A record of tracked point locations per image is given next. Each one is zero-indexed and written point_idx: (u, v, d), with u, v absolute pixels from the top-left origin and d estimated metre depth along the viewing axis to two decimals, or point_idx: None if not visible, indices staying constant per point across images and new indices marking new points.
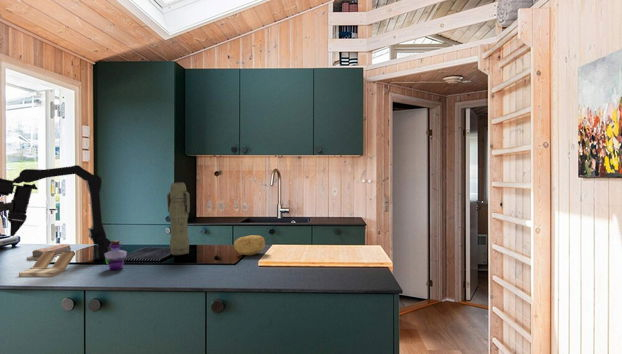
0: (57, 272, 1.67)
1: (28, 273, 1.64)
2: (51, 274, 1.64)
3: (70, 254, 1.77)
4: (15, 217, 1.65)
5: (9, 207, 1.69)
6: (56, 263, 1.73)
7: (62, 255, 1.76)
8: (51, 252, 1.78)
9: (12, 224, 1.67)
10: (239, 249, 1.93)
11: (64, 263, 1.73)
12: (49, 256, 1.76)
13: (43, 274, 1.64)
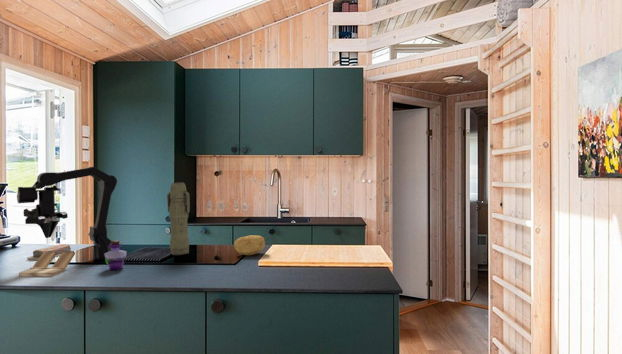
0: (57, 272, 1.67)
1: (28, 273, 1.64)
2: (51, 274, 1.64)
3: (70, 254, 1.77)
4: (30, 222, 1.68)
5: (35, 212, 1.75)
6: (56, 263, 1.73)
7: (62, 255, 1.76)
8: (51, 252, 1.78)
9: (42, 227, 1.75)
10: (239, 249, 1.93)
11: (64, 263, 1.73)
12: (49, 256, 1.76)
13: (43, 274, 1.64)
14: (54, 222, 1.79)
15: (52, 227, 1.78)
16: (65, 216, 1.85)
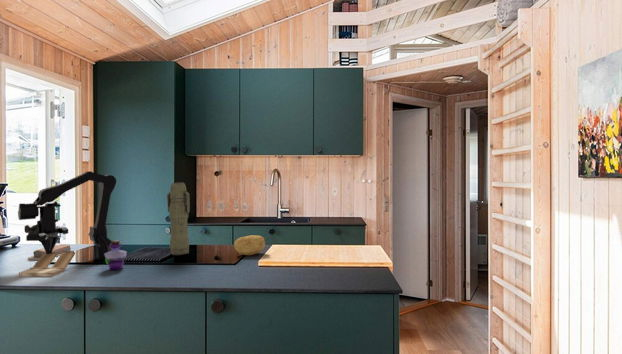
0: (57, 272, 1.67)
1: (28, 273, 1.64)
2: (51, 274, 1.64)
3: (70, 254, 1.77)
4: (31, 238, 1.69)
5: (36, 228, 1.75)
6: (56, 263, 1.73)
7: (62, 255, 1.76)
8: (52, 253, 1.79)
9: (43, 243, 1.76)
10: (239, 249, 1.93)
11: (64, 263, 1.73)
12: (49, 257, 1.77)
13: (43, 274, 1.64)
14: (55, 238, 1.79)
15: (53, 243, 1.79)
16: (66, 231, 1.85)
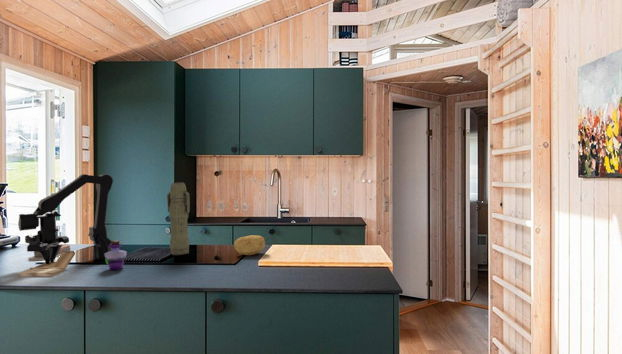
0: (57, 272, 1.67)
1: (28, 273, 1.64)
2: (51, 274, 1.64)
3: (70, 254, 1.77)
4: (32, 249, 1.69)
5: (36, 238, 1.76)
6: (56, 263, 1.73)
7: (62, 255, 1.76)
8: (54, 262, 1.80)
9: (42, 253, 1.76)
10: (239, 249, 1.93)
11: (64, 263, 1.73)
12: (51, 263, 1.78)
13: (43, 274, 1.64)
14: (56, 247, 1.80)
15: (55, 252, 1.80)
16: (66, 240, 1.85)
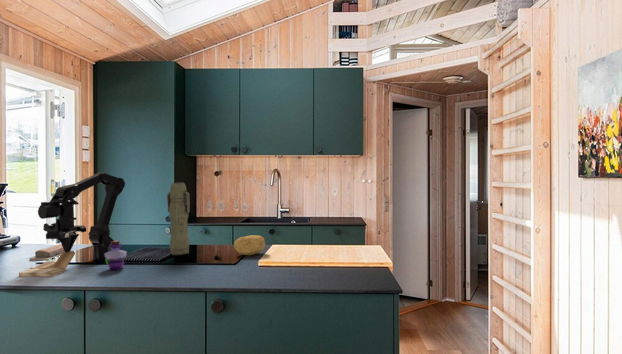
0: (57, 272, 1.67)
1: (28, 273, 1.64)
2: (51, 274, 1.64)
3: (70, 254, 1.77)
4: (50, 237, 1.68)
5: (55, 226, 1.75)
6: (56, 263, 1.73)
7: (62, 255, 1.76)
8: (54, 262, 1.80)
9: (61, 241, 1.75)
10: (239, 249, 1.93)
11: (64, 263, 1.73)
12: (51, 263, 1.78)
13: (43, 274, 1.64)
14: (74, 236, 1.78)
15: (72, 241, 1.78)
16: (84, 230, 1.84)
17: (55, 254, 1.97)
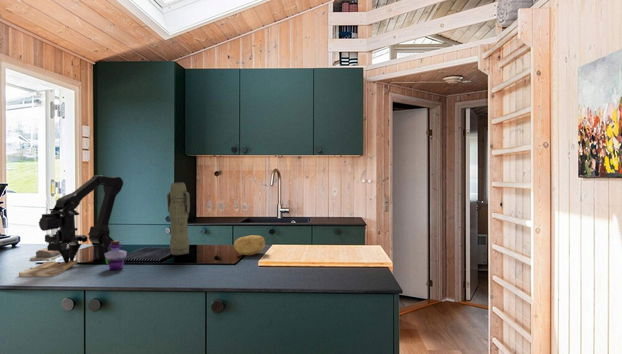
0: (57, 272, 1.67)
1: (28, 273, 1.64)
2: (51, 274, 1.64)
3: (72, 261, 1.78)
4: (52, 248, 1.69)
5: (56, 238, 1.75)
6: (57, 266, 1.73)
7: (64, 262, 1.78)
8: (54, 262, 1.80)
9: (62, 252, 1.75)
10: (239, 249, 1.93)
11: (65, 266, 1.73)
12: (51, 263, 1.78)
13: (43, 274, 1.64)
14: (76, 246, 1.80)
15: (74, 251, 1.80)
16: (85, 239, 1.85)
17: (56, 254, 1.98)
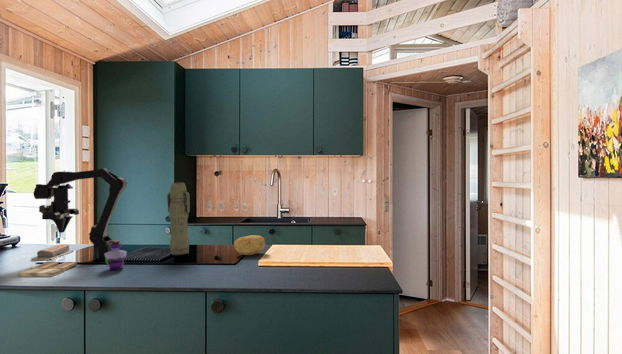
0: (57, 272, 1.67)
1: (28, 273, 1.64)
2: (51, 274, 1.64)
3: (72, 263, 1.78)
4: (47, 217, 1.80)
5: (50, 208, 1.87)
6: (57, 266, 1.73)
7: (64, 263, 1.78)
8: (54, 262, 1.80)
9: (56, 222, 1.87)
10: (239, 249, 1.93)
11: (65, 266, 1.73)
12: (51, 263, 1.78)
13: (43, 274, 1.64)
14: (68, 218, 1.91)
15: (66, 222, 1.91)
16: (76, 212, 1.97)
17: (57, 254, 1.98)
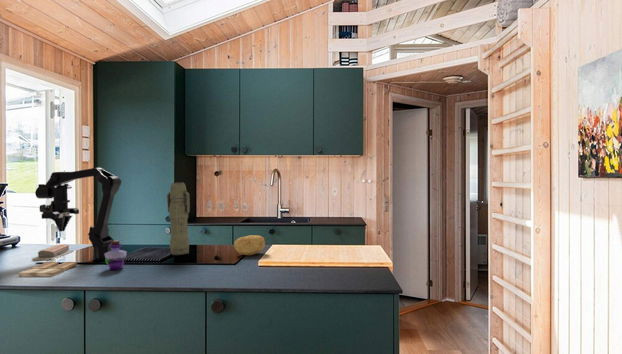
0: (57, 272, 1.67)
1: (28, 273, 1.64)
2: (51, 274, 1.64)
3: (72, 263, 1.78)
4: (46, 216, 1.85)
5: (50, 208, 1.91)
6: (57, 266, 1.73)
7: (64, 263, 1.78)
8: (54, 262, 1.80)
9: (56, 221, 1.92)
10: (239, 249, 1.93)
11: (65, 266, 1.73)
12: (51, 263, 1.78)
13: (43, 274, 1.64)
14: (67, 217, 1.95)
15: (65, 222, 1.95)
16: (77, 212, 2.01)
17: (58, 254, 1.98)
